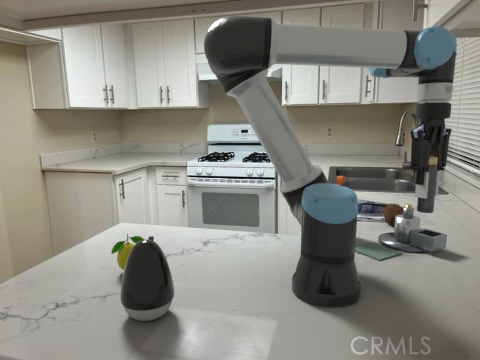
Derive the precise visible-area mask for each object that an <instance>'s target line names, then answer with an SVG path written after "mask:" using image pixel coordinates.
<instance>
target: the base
mask: <svg viewBox="0 0 480 360" xmlns="http://www.w3.org/2000/svg"><path fill="white" fill-rule="evenodd" d="M377 237H378V238H377V239H378V240H377V241H378V243H379V245H382V246H385V247H388V248H390V249H393V250H396V251H399V252H402V253H403V252H405V253H412V254H413V253H415V254H417V253H418V254H420V253H421V254H422V253H430V252H431V251H428V250H425V249H422V248H419V247H416V246H413V245H410V243H404V242H400V241H397V240H395V239H394V231H393V232H385V233H381V234H379V235H378V236H377Z"/></svg>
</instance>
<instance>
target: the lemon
mask: <svg viewBox="0 0 480 360" xmlns="http://www.w3.org/2000/svg"><path fill="white" fill-rule="evenodd" d="M129 239H130V240H131V241H132V242H133V243H132V242H129ZM142 240H145V239H144V237H141V236H140V235H134V236H131V237H130V236H129V234H128V233H126V240H122V241H121V240H120V241H118V242H116V243H115V244H114V245H113V246H112V248H111V252H110V253H111V255H113V254H116V253H117V254H116V255H117V256H116V262H117V264H118V265H117V266H118V267H119V268H120V269H121V270H123V271H124V269H125V265H126V261H127V258H128V256H129V253H130V251H131V250H132V248H133V246H134V245H135V244H136V243H138V242H139V241H142ZM134 243H135V244H134Z"/></svg>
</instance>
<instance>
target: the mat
mask: <svg viewBox="0 0 480 360" xmlns="http://www.w3.org/2000/svg"><path fill="white" fill-rule="evenodd" d="M355 253H359V254H361V255H363V256H366V257H369V258H371V259H374V260H375V261H378V262H380V261H384V260H387V259H390V258H393V257H397V256H400V255H402V254H403V251H398V250H394V249H391V248H388V247H385V246H383V245H382V244H380V243H379V244H378V243H376V242H369V243H366V244H362V245H358V246H355Z"/></svg>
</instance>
